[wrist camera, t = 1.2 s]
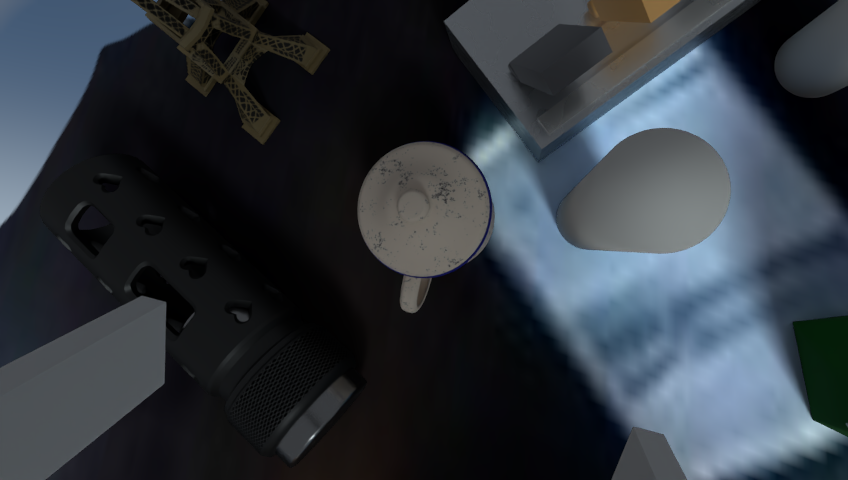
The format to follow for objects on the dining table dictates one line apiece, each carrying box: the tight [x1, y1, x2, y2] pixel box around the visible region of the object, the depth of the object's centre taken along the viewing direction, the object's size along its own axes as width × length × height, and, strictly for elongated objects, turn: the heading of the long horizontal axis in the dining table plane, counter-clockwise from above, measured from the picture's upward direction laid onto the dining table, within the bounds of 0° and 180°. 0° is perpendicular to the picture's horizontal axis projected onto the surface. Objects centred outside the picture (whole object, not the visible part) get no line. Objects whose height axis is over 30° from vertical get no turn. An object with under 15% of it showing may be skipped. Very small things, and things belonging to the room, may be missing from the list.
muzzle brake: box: [40, 154, 367, 468], centre depth 37 cm, size 10×28×10 cm, turn 51°
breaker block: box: [444, 0, 761, 162], centre depth 33 cm, size 12×20×5 cm, turn 126°
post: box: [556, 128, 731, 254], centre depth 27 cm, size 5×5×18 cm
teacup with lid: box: [357, 141, 495, 313], centre depth 32 cm, size 12×9×12 cm
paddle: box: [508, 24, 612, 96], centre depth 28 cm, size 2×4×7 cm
